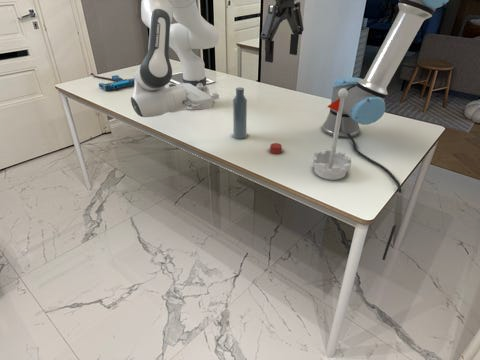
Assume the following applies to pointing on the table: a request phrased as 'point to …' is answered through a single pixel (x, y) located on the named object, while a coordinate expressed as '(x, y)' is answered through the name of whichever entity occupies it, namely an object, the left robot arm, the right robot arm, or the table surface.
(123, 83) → the submachine gun
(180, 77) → the tablet
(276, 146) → the cap
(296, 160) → the table surface
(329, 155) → the flag stand
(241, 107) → the bottle
